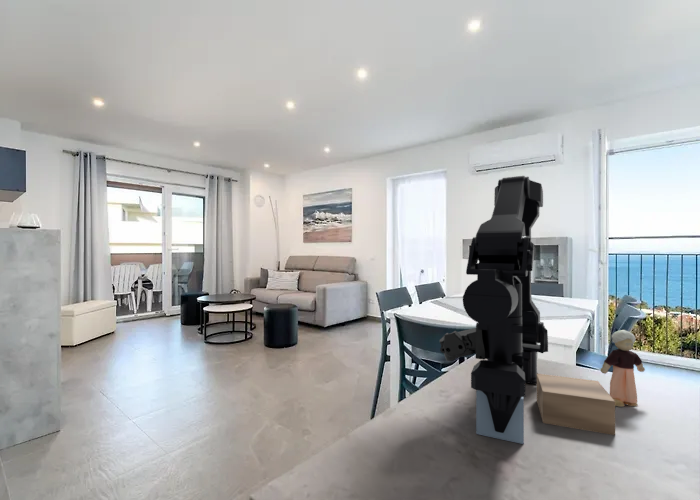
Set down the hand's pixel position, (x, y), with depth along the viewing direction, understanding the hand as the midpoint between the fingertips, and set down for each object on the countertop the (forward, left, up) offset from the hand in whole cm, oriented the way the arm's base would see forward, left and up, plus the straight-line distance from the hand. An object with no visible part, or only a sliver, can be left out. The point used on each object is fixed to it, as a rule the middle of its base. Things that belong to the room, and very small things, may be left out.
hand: (500, 422), depth 50 cm
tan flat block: (-10, +10, -1) cm, 14 cm away
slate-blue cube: (0, 0, -1) cm, 1 cm away
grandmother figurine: (-20, +19, -1) cm, 28 cm away
